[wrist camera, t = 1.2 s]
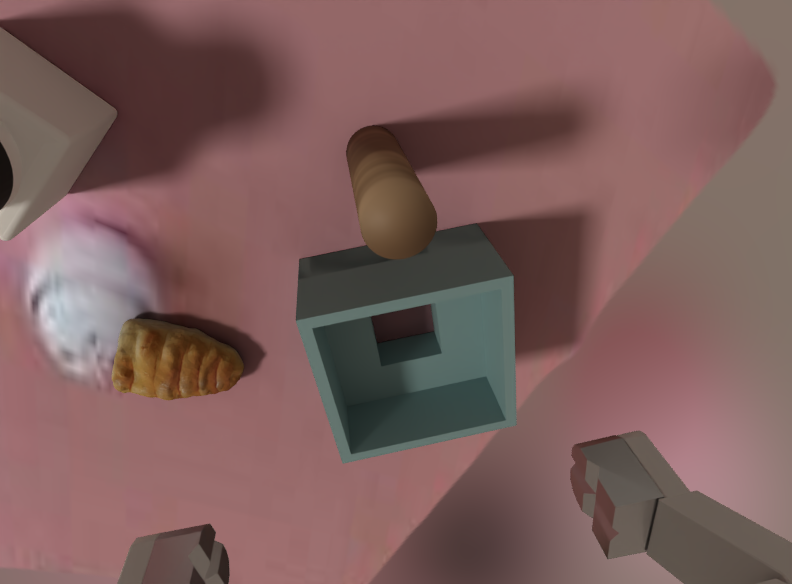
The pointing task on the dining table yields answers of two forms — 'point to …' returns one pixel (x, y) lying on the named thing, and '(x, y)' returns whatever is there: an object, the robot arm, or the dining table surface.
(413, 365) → the box
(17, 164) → the medicine bottle
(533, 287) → the dining table surface
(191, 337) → the pastry
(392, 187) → the peg
